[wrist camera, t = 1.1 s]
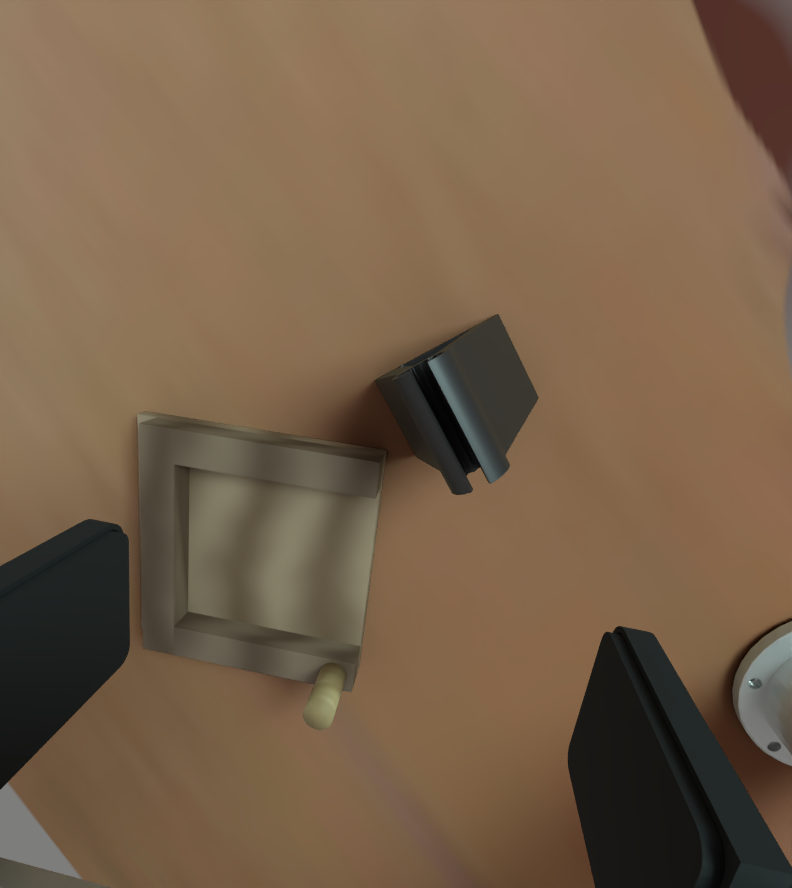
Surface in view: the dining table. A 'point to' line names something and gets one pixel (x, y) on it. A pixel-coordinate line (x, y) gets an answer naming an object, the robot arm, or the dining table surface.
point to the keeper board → (257, 550)
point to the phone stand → (462, 403)
